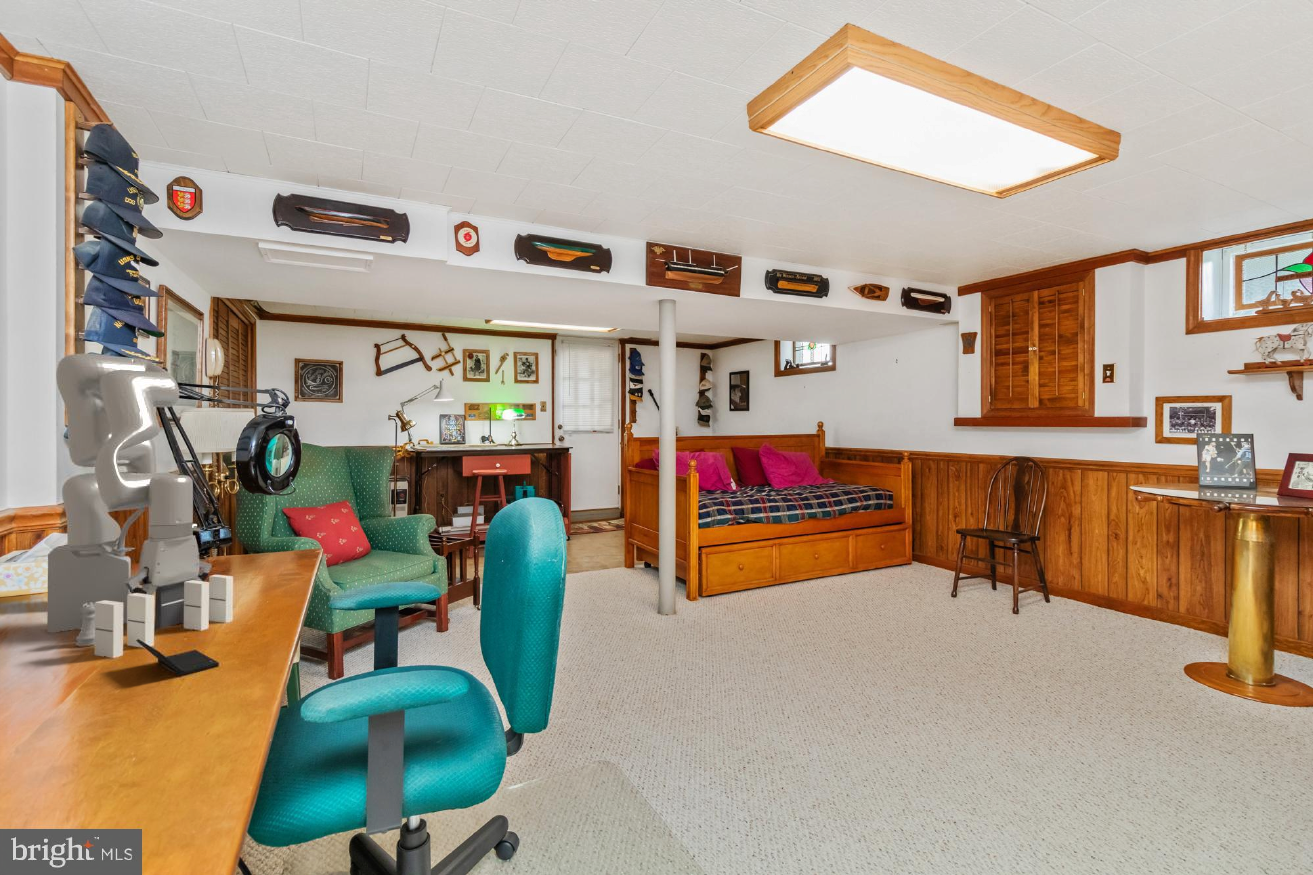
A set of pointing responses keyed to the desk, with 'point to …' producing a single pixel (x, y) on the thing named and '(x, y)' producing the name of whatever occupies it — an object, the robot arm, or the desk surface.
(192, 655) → the handheld gaming console
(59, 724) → the desk surface
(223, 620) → the domino
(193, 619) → the domino
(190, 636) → the desk surface
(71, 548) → the fuel canister
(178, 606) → the domino
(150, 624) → the domino
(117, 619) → the domino
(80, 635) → the rook chess piece
